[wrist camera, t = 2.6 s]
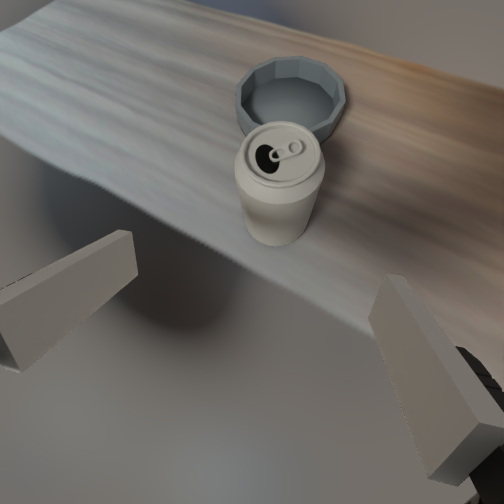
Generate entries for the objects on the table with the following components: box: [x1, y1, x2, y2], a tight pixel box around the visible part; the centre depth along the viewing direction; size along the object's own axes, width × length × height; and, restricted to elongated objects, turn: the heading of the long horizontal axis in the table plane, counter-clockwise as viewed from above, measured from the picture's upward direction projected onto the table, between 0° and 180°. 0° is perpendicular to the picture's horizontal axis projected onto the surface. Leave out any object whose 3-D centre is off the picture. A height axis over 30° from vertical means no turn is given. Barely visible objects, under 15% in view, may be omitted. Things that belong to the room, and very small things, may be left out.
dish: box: [235, 56, 346, 144], centre depth 33 cm, size 14×14×3 cm
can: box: [234, 121, 325, 246], centre depth 24 cm, size 8×8×12 cm
